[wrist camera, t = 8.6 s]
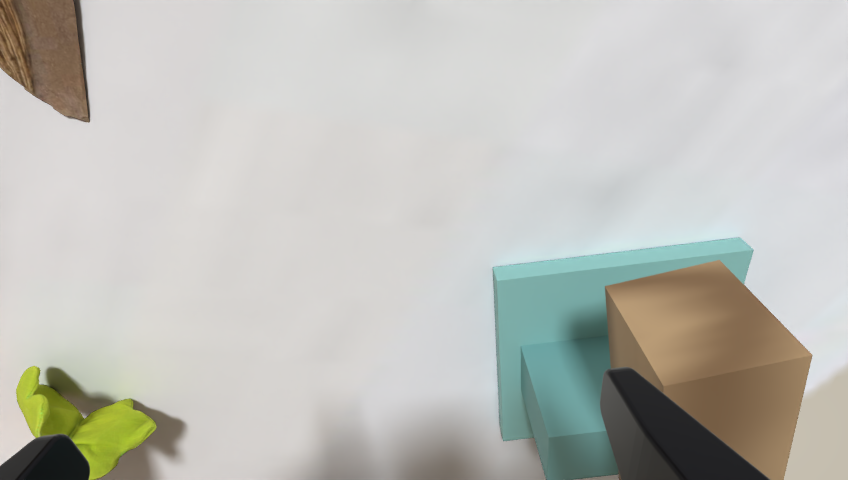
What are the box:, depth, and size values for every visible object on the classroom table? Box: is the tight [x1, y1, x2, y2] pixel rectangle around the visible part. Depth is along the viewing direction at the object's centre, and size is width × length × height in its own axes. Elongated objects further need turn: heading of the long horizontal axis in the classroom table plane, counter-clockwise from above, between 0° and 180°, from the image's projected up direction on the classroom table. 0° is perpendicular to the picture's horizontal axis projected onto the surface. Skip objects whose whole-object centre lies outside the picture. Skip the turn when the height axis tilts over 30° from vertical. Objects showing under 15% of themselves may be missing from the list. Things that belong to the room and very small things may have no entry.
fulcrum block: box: [493, 238, 754, 480], centre depth 23 cm, size 11×11×6 cm
